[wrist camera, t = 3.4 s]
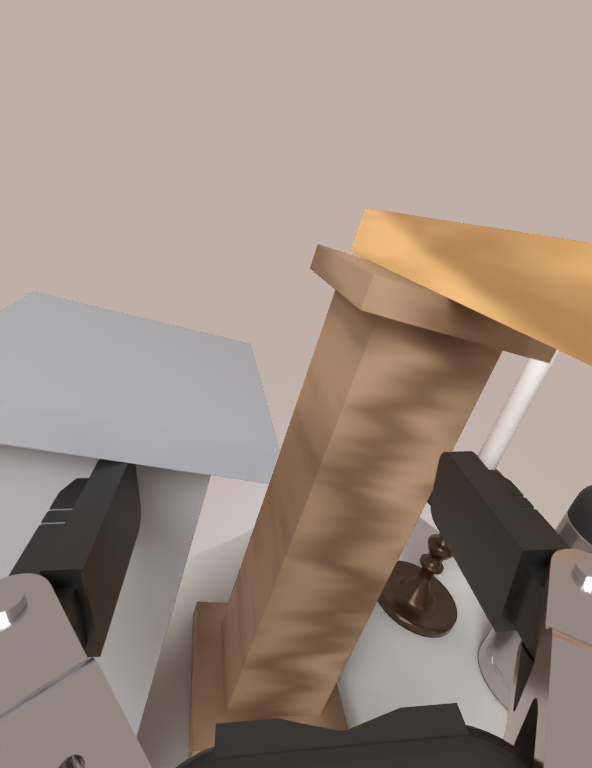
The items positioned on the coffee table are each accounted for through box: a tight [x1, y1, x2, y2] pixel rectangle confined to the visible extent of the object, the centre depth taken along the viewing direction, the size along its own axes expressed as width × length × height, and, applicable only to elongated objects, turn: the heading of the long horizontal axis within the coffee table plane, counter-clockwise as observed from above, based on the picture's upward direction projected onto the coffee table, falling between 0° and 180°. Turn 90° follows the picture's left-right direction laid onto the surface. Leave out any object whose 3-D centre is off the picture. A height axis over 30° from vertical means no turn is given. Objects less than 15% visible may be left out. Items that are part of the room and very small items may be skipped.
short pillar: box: [0, 292, 280, 737], centre depth 18 cm, size 8×8×28 cm
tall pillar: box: [189, 244, 557, 758], centre depth 29 cm, size 11×11×32 cm
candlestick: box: [378, 350, 560, 638], centre depth 42 cm, size 11×11×35 cm
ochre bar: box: [351, 208, 592, 366], centre depth 21 cm, size 3×22×3 cm, turn 10°
